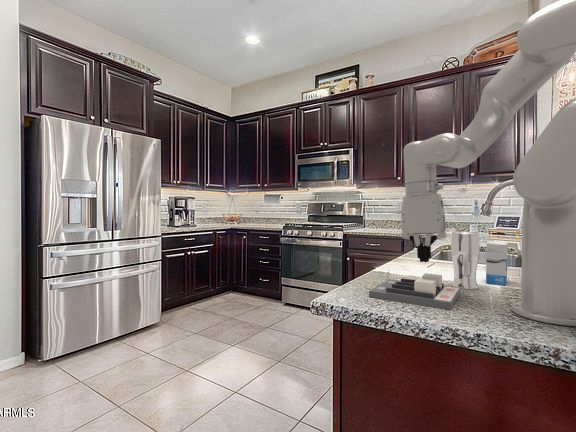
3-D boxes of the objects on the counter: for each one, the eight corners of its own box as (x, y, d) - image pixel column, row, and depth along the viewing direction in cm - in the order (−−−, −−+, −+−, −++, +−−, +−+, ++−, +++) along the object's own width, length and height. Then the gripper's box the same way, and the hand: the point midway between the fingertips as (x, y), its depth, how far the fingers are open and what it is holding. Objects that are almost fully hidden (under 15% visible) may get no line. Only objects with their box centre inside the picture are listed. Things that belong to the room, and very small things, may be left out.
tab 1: (435, 293, 75) (436, 280, 75) (432, 296, 72) (432, 283, 72) (418, 291, 77) (418, 278, 77) (414, 294, 74) (414, 281, 74)
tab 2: (442, 286, 82) (442, 275, 81) (439, 289, 79) (439, 277, 79) (425, 284, 84) (425, 273, 84) (422, 287, 81) (422, 275, 81)
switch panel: (460, 293, 81) (460, 283, 81) (450, 309, 68) (450, 298, 68) (389, 284, 91) (389, 275, 91) (369, 297, 78) (369, 286, 78)
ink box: (506, 286, 89) (506, 244, 89) (485, 283, 92) (485, 242, 92) (507, 280, 96) (508, 241, 96) (488, 278, 99) (488, 240, 99)
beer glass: (472, 284, 92) (472, 231, 91) (484, 290, 85) (484, 233, 84) (446, 283, 92) (446, 231, 92) (457, 289, 85) (457, 233, 85)
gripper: (455, 188, 81) (459, 260, 81) (395, 193, 90) (399, 258, 89) (450, 186, 75) (454, 264, 75) (387, 191, 84) (390, 262, 83)
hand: (424, 261), depth 82 cm, fingers closed
